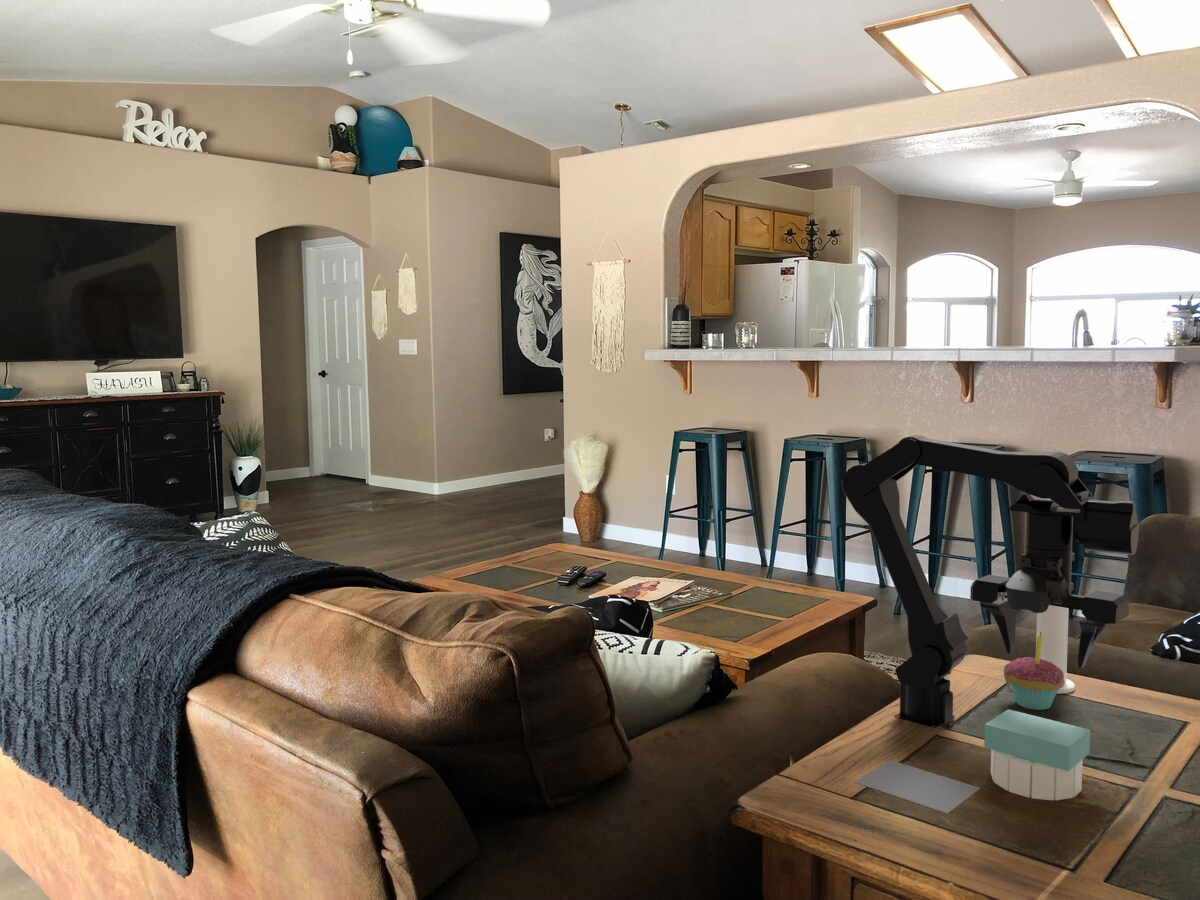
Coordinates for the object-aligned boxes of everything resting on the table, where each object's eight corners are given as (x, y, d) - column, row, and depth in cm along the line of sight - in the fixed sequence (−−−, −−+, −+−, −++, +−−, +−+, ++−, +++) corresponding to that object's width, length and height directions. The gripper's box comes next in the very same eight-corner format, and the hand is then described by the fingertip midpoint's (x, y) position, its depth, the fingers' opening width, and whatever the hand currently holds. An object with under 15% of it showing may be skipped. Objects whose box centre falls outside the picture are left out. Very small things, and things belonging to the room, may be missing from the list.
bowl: (977, 786, 119) (978, 751, 118) (1010, 761, 126) (1011, 728, 125) (1062, 812, 112) (1063, 775, 111) (1092, 784, 119) (1093, 749, 118)
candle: (1074, 682, 155) (1079, 530, 153) (1075, 696, 149) (1081, 538, 147) (1026, 676, 158) (1031, 527, 156) (1025, 690, 152) (1030, 535, 150)
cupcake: (1073, 714, 142) (1077, 635, 140) (1016, 715, 142) (1018, 636, 141) (1047, 694, 150) (1050, 619, 149) (993, 694, 150) (995, 619, 149)
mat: (854, 786, 119) (854, 781, 119) (890, 764, 125) (890, 759, 125) (947, 818, 110) (947, 813, 110) (980, 792, 117) (980, 788, 117)
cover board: (984, 747, 119) (984, 724, 119) (1007, 731, 124) (1008, 709, 124) (1068, 771, 112) (1069, 746, 112) (1089, 753, 117) (1090, 729, 117)
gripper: (953, 546, 129) (951, 659, 130) (1103, 566, 116) (1098, 691, 117) (988, 534, 137) (986, 641, 138) (1132, 552, 123) (1127, 670, 125)
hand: (1044, 660), depth 129 cm, fingers open, 9 cm apart
